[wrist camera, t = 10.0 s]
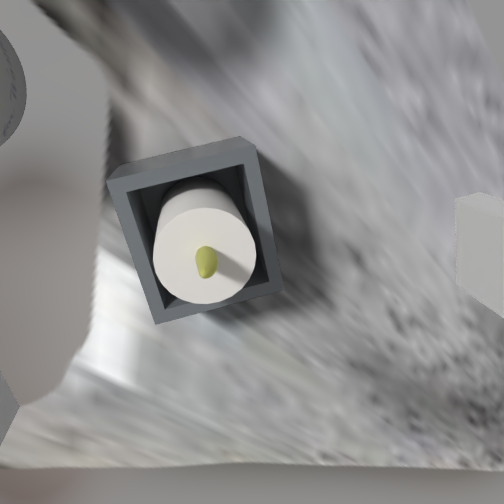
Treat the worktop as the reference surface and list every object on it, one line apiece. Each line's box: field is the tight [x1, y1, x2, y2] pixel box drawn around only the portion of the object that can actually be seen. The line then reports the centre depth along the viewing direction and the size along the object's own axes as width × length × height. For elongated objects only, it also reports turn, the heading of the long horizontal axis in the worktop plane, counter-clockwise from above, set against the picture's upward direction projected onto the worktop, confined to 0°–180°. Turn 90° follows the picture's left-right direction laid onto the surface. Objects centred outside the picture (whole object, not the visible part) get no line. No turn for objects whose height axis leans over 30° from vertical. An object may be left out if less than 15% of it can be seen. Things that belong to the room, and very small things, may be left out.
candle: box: [153, 177, 256, 304], centre depth 28 cm, size 6×6×15 cm
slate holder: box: [106, 136, 285, 325], centre depth 33 cm, size 11×10×7 cm
